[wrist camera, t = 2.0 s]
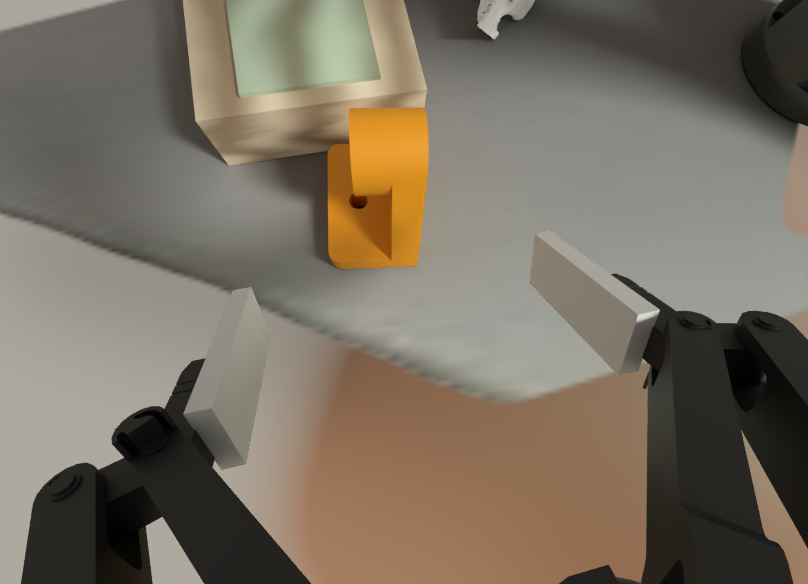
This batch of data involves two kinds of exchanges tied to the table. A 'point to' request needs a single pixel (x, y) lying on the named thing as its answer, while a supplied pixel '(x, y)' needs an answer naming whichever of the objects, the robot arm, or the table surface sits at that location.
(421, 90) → the riser stand
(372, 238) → the bracket
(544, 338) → the table surface
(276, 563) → the robot arm
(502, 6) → the white bone skull
